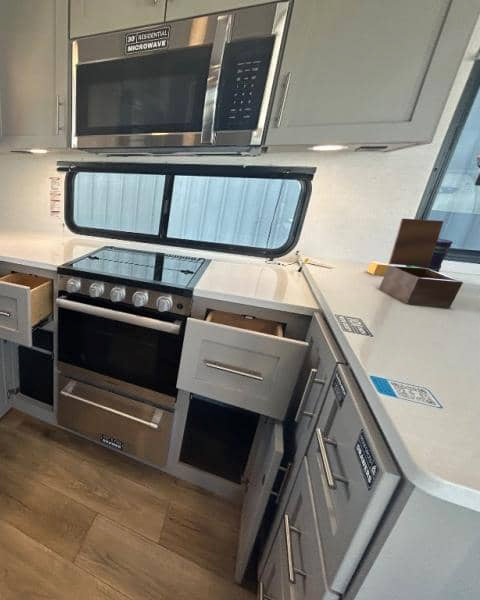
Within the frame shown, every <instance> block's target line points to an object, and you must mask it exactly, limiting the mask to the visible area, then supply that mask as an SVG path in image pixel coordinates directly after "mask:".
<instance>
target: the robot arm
mask: <svg viewBox="0 0 480 600" xmlns="http://www.w3.org/2000/svg"><path fill="white" fill-rule="evenodd" d="M476 161H477V162H476V166H477V167H478V171H479V172H480V153H478V154H477V155H476ZM474 186H480V173H479V174H478V176H477V178H476V180H475V183H474Z"/></svg>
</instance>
